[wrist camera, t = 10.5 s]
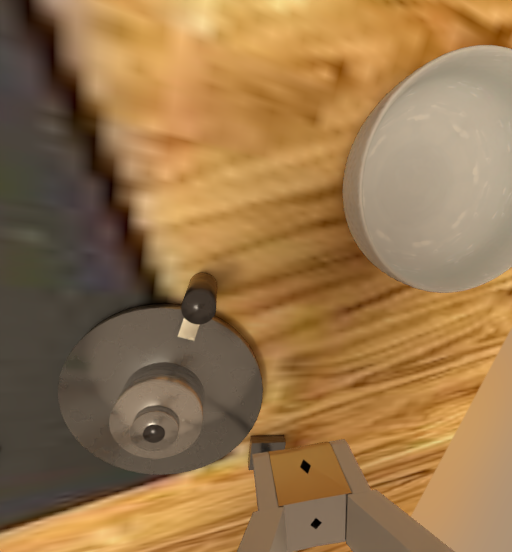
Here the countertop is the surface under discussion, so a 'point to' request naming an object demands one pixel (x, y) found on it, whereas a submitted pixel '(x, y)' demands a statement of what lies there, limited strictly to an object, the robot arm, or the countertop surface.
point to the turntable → (172, 349)
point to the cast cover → (158, 411)
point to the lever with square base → (264, 446)
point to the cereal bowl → (437, 174)
